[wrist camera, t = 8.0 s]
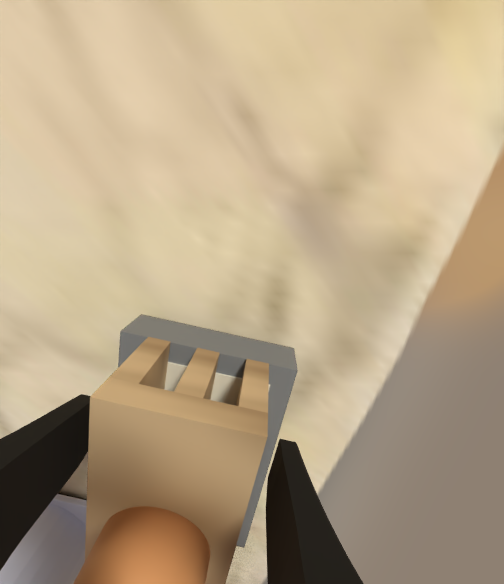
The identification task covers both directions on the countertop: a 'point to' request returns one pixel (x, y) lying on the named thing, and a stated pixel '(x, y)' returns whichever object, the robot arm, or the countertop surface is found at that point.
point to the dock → (222, 376)
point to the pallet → (176, 447)
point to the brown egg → (147, 550)
